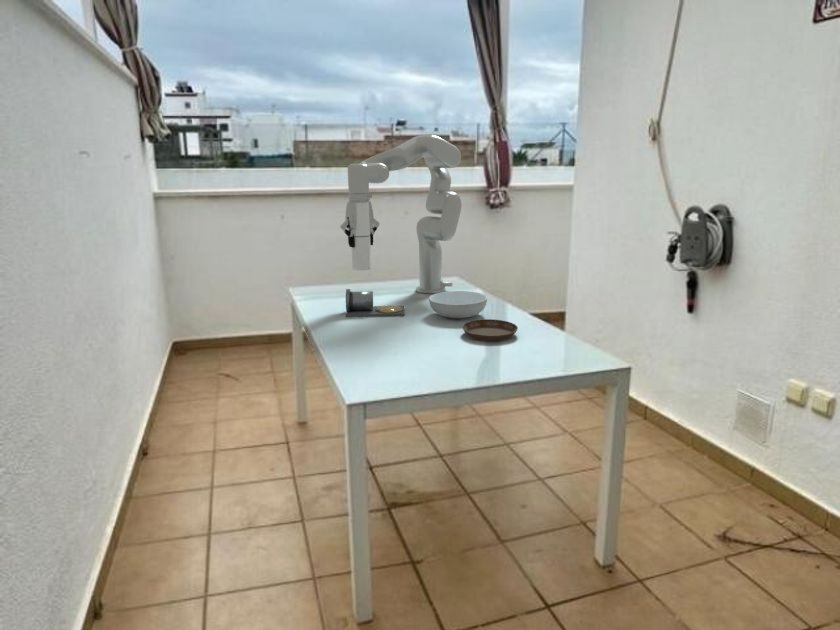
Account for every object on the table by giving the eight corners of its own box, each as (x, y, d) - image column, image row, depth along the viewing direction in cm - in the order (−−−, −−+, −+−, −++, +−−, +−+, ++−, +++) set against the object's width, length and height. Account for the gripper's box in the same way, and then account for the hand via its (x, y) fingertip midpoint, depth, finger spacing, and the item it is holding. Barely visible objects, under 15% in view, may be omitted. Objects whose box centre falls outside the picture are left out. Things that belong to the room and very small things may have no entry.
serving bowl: (423, 310, 222) (423, 292, 220) (477, 307, 226) (477, 289, 224) (436, 325, 202) (436, 305, 200) (494, 321, 206) (495, 302, 204)
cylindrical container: (363, 271, 221) (360, 203, 214) (348, 269, 224) (345, 202, 218) (375, 267, 226) (372, 201, 220) (360, 266, 230) (357, 201, 224)
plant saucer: (516, 345, 180) (517, 335, 179) (459, 342, 183) (459, 333, 182) (518, 329, 197) (518, 320, 196) (465, 327, 200) (465, 318, 199)
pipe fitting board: (404, 308, 225) (403, 285, 223) (404, 316, 213) (403, 291, 211) (348, 309, 225) (347, 285, 222) (345, 317, 213) (344, 292, 211)
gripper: (374, 196, 226) (375, 242, 231) (333, 198, 217) (335, 247, 221) (384, 197, 220) (385, 244, 225) (342, 200, 211) (345, 249, 215)
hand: (361, 245), depth 223 cm, fingers closed on cylindrical container, 7 cm apart
